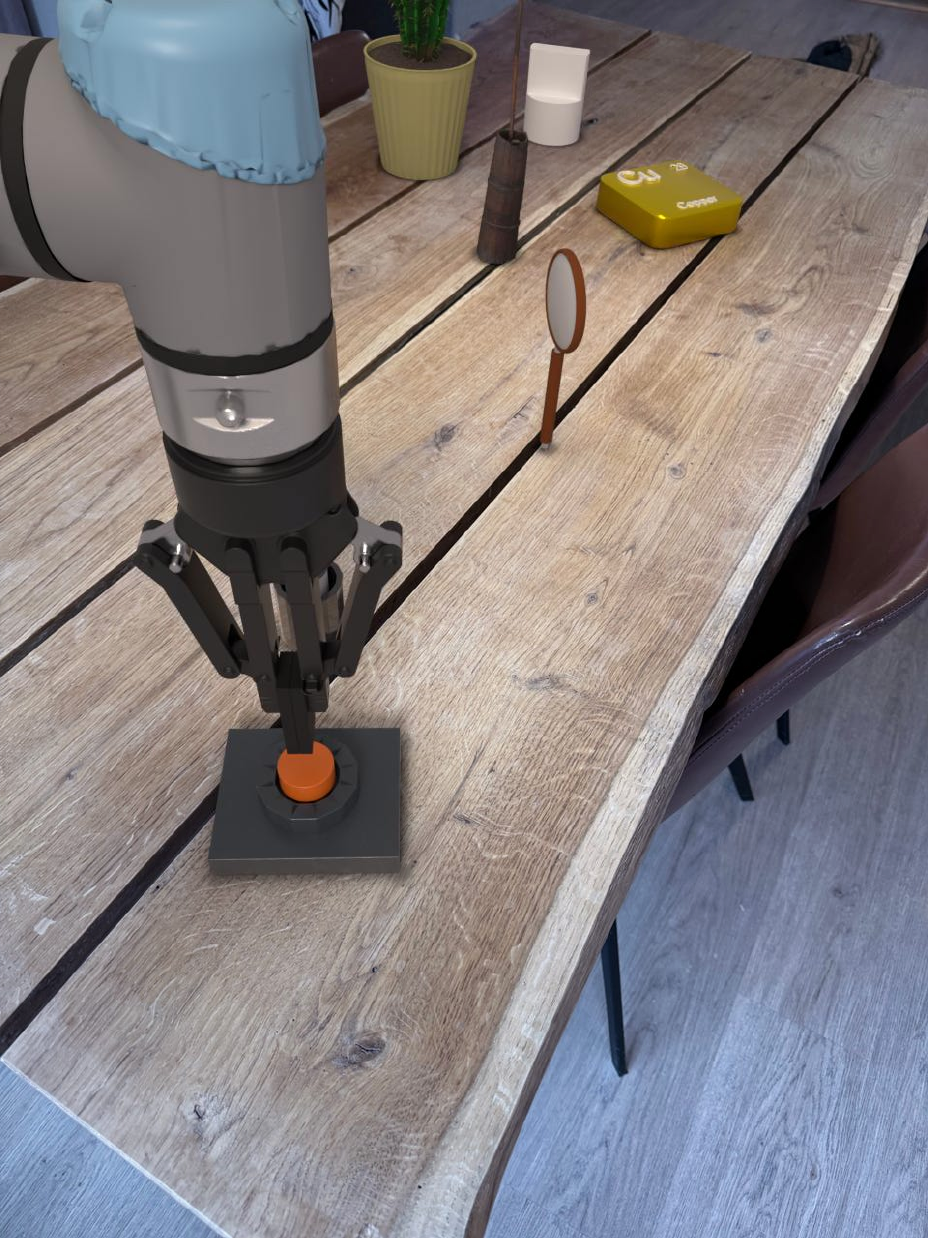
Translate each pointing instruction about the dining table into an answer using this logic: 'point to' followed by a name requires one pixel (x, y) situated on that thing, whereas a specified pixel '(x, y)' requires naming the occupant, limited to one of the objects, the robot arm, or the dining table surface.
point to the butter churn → (505, 183)
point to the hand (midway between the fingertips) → (301, 735)
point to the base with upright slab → (555, 94)
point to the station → (309, 807)
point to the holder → (330, 607)
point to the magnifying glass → (562, 326)
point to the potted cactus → (419, 91)
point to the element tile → (668, 204)
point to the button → (307, 773)
